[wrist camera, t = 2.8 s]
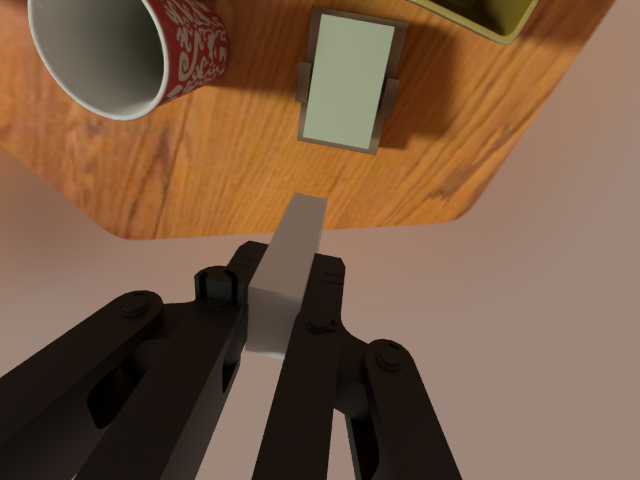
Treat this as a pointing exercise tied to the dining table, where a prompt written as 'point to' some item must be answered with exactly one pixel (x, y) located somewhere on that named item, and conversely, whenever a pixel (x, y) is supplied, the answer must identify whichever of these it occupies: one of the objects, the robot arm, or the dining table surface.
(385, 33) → the rocker green
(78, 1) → the mug
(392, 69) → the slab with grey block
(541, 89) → the dining table surface
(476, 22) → the flower pot
